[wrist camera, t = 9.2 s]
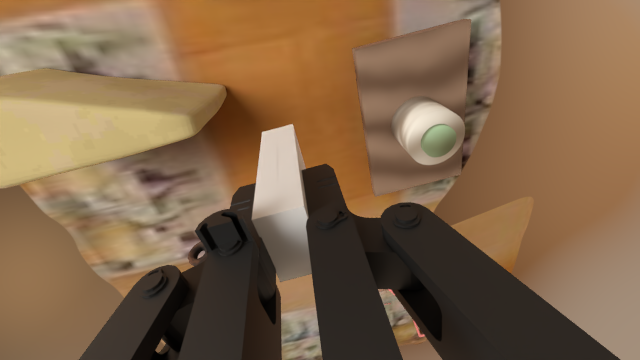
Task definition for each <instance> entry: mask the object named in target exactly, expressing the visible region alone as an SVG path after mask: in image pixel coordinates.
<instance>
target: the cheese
mask: <svg viewBox="0 0 640 360" xmlns="http://www.w3.org/2000/svg"><path fill="white" fill-rule="evenodd" d="M226 96H227V93H226V88H225V86H223V85H220V84H208V83H192V82H178V81H163V80H146V79H132V78H120V77H109V76H100V75H91V74H83V73H76V72H68V71H61V70H55V69H46V68H43V69H38V70H32V71H26V72H21V73H15V74H9V75H4V76H0V188H9V187H12V186H16V185H20V184H24V183H27V182H31V181H35V180H38V179H42V178H46V177H50V176H53V175H57V174H61V173H65V172H69V171H73V170H77V169H80V168H84V167H88V166H92V165H96V164H100V163H104V162H108V161H112V160H116V159H120V158H124V157H128V156H131V155H135V154H138V153H141V152H145V151H148V150H151V149H155V148H158V147H161V146H165V145H168V144H171V143H175V142H178V141H181V140H184V139H188V138H190V137H192V136H194V135H196V134H197V133H198V132H199V131H200V130H201V129H202V128H203V127H204V125H205V124H206V123H207V122H208V121H209V120H210V119H211V118H212V117H213V116H214V115H215V114H216V113H217V112H218V110H219V109H220V107H221V106H222V104H223V102H224V100H225V98H226Z"/></svg>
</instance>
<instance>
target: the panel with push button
mask: <svg viewBox="0 0 640 360" xmlns="http://www.w3.org/2000/svg"><path fill="white" fill-rule="evenodd" d="M470 31H471V19H462V20H458V21H454V22H450V23H447V24H443V25H439V26H435V27H432V28H428V29H424V30H420V31H416V32H413V33H409V34H405V35H401V36H398V37H394V38H390V39H386V40H382V41H379V42H375V43H371V44H367V45H363V46H360V47H356V48H352V51H353V58H354V65H355V72H356V79H357V85H358V92H359V99H360V106H361V113H362V120H363V127H364V134H365V141H366V148H367V154H368V161H369V168H370V175H371V182H372V189H373V193H374V195H375V197H376V196H380V195H384V194H388V193H392V192H395V191H399V190H403V189H407V188H411V187H415V186H418V185H422V184H426V183H430V182H434V181H438V180H441V179H445V178H449V177H453V176H457V175H461V166H462V151H463V140H464V136H465V125H464V121H465V106H466V91H467V76H468V61H469V46H470Z"/></svg>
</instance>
